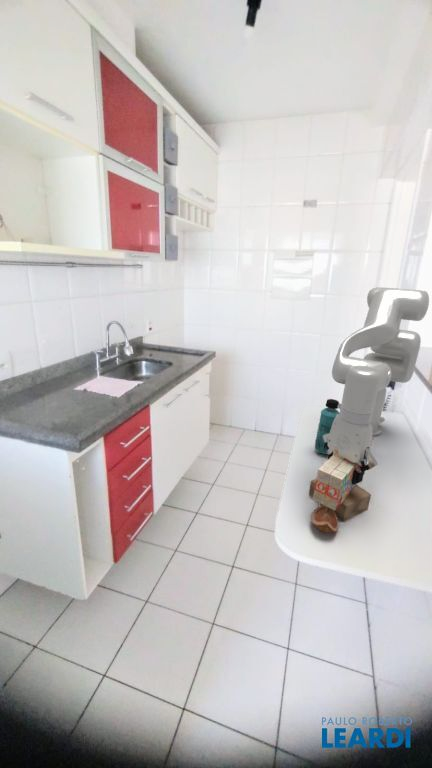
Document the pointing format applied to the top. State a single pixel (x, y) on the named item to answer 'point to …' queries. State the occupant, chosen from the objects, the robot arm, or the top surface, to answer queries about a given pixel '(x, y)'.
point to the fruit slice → (325, 519)
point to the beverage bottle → (326, 424)
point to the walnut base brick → (349, 502)
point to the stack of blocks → (334, 480)
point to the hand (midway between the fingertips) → (343, 474)
